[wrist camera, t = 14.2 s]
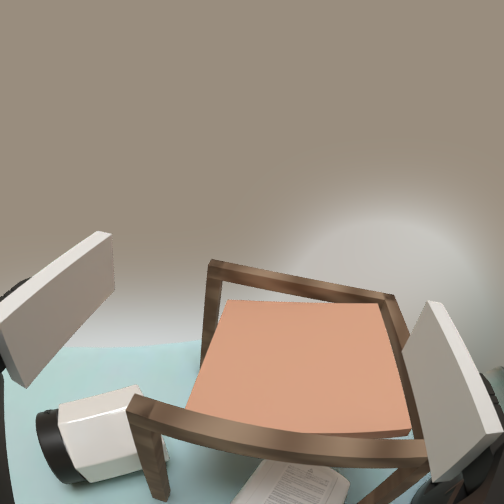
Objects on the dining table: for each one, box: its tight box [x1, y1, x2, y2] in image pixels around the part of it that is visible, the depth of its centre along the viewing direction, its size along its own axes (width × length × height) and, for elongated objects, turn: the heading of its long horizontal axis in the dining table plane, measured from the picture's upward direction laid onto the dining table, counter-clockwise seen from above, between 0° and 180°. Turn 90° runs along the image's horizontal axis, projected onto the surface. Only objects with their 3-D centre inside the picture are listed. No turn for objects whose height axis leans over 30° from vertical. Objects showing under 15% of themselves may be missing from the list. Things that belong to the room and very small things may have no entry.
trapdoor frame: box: [125, 259, 430, 504], centre depth 29 cm, size 21×21×18 cm
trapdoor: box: [185, 300, 412, 439], centre depth 26 cm, size 16×16×1 cm
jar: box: [36, 385, 170, 484], centre depth 25 cm, size 9×8×12 cm
